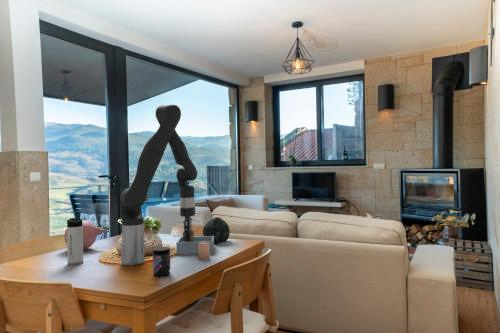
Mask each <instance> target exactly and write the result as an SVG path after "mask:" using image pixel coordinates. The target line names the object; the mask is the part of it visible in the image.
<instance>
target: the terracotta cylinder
mask: <svg viewBox="0 0 500 333" xmlns="http://www.w3.org/2000/svg"><path fill="white" fill-rule="evenodd" d="M198 252H199V254H198V260H201V261H203V260H204V261H205V260H209V259H210V253H209V243H208V242H201V243H198Z"/></svg>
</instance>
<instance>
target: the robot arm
mask: <svg viewBox="0 0 500 333" xmlns="http://www.w3.org/2000/svg"><path fill="white" fill-rule="evenodd" d="M181 116H182V110H181V109H180V106H178V105H176V104H160V105H159V106H157V107H156V109H155V118H156V121H157V122H158V125H159V127H158V128H157V130H156V132H154V134H153V135H152V136H151V137H150V138H149V139H148V140H147V142H145V144H144V146H143V149H142V150H141V152H140V155H139V158H138V162H137V168H136V173H135V176H134V179H133V180H132V181H133V182H132V183H131V185H130V186H129V187H127V188H125V189H124V190H123V191H122V192H121V194H120V198H119V210H120V211H119V212H120V219H121V242H120V265H124V266H135V265H136V266H137V265H140V264H143V263H144V262H145V232H144V230H145V228H144V227H145V226H144V225H145V223H144V222H145V221H144V216H143V213H142V207H143V206H144V204H145V203H146V202H145V201H146V198H147V196H148V193H149V190H150V186H151V184H152V180H153V179H154V176H155V174H156V172H157V169H158V167H159V165H160V164H161V161H162V158H163V156H164V155H165V151H166V148H167V147H168V144H169V147H170V149H171V150H170V151H171V152H172V156H173V158H174V162H175V164H176V165H178V166H181V167H179V168H178V169H177V171H176V176H175V177H176V180H177V182H178V183H177V184H178V187H179V196H180V197H179V211H180V212H179V213H180V214H179V216H180V217H184V219H183V231H184V233H185V241H190V230H193V218H192V217H194V216H196V198H195V187H194V186H193V185H191V184H189V182H191V181H195V180H197V177H198V170H197V167H196V166H195V164H194V162H193V161H192V160H191V158H190V157H189V156H190V155H189V152H188V150H187V145H186V144H185V143H184V141H183V140H182V138H181V137H180V135H179V133H177V130H176V127H178V124H179V122H180V120H181ZM188 181H189V182H188ZM186 230H188V231H186Z"/></svg>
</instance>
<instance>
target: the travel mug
mask: <svg viewBox="0 0 500 333" xmlns="http://www.w3.org/2000/svg"><path fill="white" fill-rule="evenodd" d="M82 220H83V219H82V218H75V217H72V218H68V219H67V220H66V224H67V226H66V229H67V244H66V246H67V249H66V250H67V265H68V266H79V265H82V264H83V263H84V250H83V226H82Z"/></svg>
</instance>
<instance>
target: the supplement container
mask: <svg viewBox="0 0 500 333" xmlns="http://www.w3.org/2000/svg"><path fill="white" fill-rule="evenodd" d="M152 274H153V276H154V277H155V278H165V277H168V276H170V275H171V247H170V246H157V247H153V248H152Z"/></svg>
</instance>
